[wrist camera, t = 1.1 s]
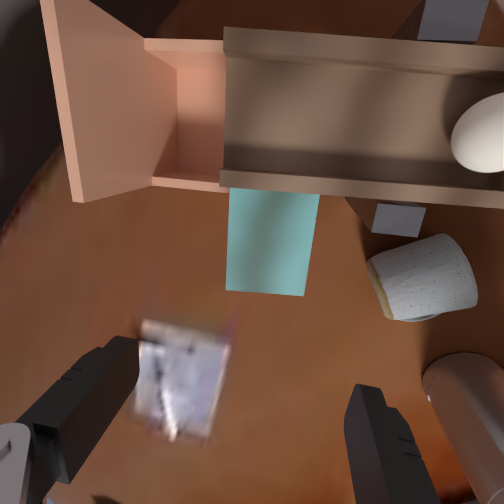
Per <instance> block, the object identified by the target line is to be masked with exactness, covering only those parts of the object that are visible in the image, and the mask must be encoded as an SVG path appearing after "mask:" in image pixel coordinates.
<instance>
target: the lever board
mask: <svg viewBox="0 0 504 504" xmlns="http://www.w3.org/2000/svg"><path fill="white" fill-rule="evenodd" d="M223 51H224V53H225V56H226V58H227V64H226V95H225V126H224V157H223V168H222V169H220V177H219V187H228V188H230V200H229V223H228V247H227V271H226V290H233V291H246V292H259V293H272V294H284V295H297V296H304V291H305V284H306V278H307V272H308V266H309V259H310V253H311V247H312V240H313V234H314V228H315V222H316V215H317V209H318V203H319V196H320V195H332V196H345V197H358V198H371V199H384V200H397V201H410V202H422V203H435V204H448V205H461V206H474V207H487V208H500V209H504V170H503V171H499V172H492V173H483V172H476V171H473V170H470V169H467V168H466V167H464V166H462V165H461V164H460V163H459V162H458V161H457V160H456V159H455V157H454V155H453V153H452V150H451V135H452V132H453V129H454V127H455V125H456V123H457V121H458V120H459V119H460V117H461V116H462V115H463V114H464V113H465V112H466V111H467V110H468V109H469V108H470V107H472V106H473V105H474V104H476V103H478V102H479V101H481V100H483V99H485V98H487V97H490V96H492V95H496V94H500V93H504V47H491V46H478V45H465V44H451V43H438V42H425V41H411V40H398V39H385V38H371V37H358V36H345V35H331V34H318V33H305V32H291V31H278V30H265V29H251V28H238V27H225V26H224V34H223Z"/></svg>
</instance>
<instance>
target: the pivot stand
mask: <svg viewBox="0 0 504 504" xmlns="http://www.w3.org/2000/svg"><path fill="white" fill-rule="evenodd" d="M488 3H489V0H422V1H421V2H420V4H419V5H418V6H417V7H416V9H415V10H414V11H413V12H412V14H411V15H410V16H409V17H408V18H407V20H406V21H405V22H404V23H403V25H402V26H401V27H400V28H399V30H398V31H397V32H396V33H395V35H394V36H393V37H392V38H391V39H398V40H411V41H425V42H438V43H451V44H465V45H471V44H473V43H475V42H476V41H477V39H478V36H479V33H480V30H481V26H482V23H483V20H484V16H485V13H486V10H487V6H488ZM346 201H347V202H348V203H349V205H350V206H351V207H352V209H353V210H354V211H355V212H356V214H357V215H358V216H359V217H360V219H361V220H362V221H363V222H364V224H365V225H366V226H367V227H368V229H369V230H370V231H371V232H374V233H383V234H391V235H400V236H409V237H418V234H419V231H420V228H421V224H422V221H423V218H424V214H425V211H426V208H425V207H423V206H421V205H419V204H417V203H415V202H410V201H397V200H384V199H371V198H358V197H346Z"/></svg>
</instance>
